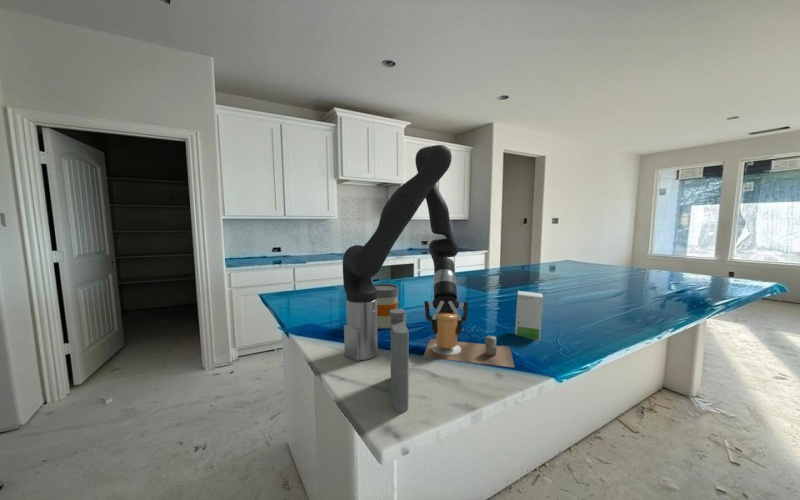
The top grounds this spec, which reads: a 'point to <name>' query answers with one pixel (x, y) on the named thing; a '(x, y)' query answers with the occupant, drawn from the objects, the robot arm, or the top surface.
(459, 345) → the post board
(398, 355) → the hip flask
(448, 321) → the cap
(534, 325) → the skincare box
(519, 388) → the top surface
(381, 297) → the reusable coffee cup
